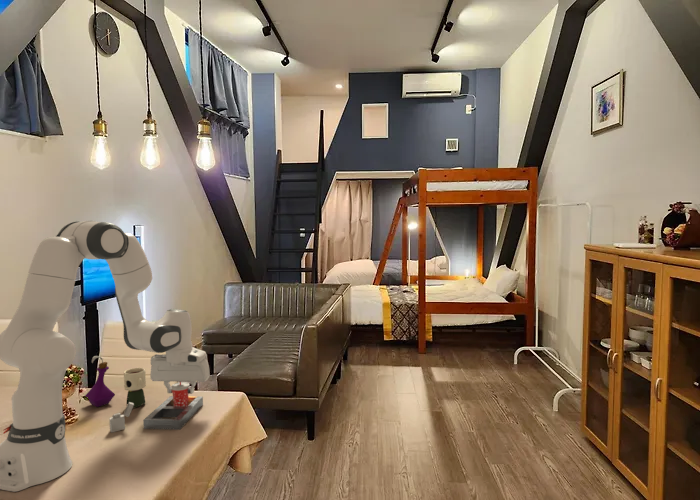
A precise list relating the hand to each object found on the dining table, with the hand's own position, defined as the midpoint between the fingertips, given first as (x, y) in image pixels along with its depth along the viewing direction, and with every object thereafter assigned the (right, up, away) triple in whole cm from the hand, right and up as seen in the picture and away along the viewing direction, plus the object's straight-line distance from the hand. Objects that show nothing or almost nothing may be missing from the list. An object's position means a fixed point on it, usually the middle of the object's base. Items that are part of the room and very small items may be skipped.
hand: (180, 393), depth 165 cm
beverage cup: (0, -6, 0) cm, 6 cm away
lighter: (-14, -8, -14) cm, 21 cm away
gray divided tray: (0, -7, -5) cm, 8 cm away
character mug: (-18, -6, +4) cm, 19 cm away
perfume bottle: (-32, -6, +6) cm, 33 cm away
